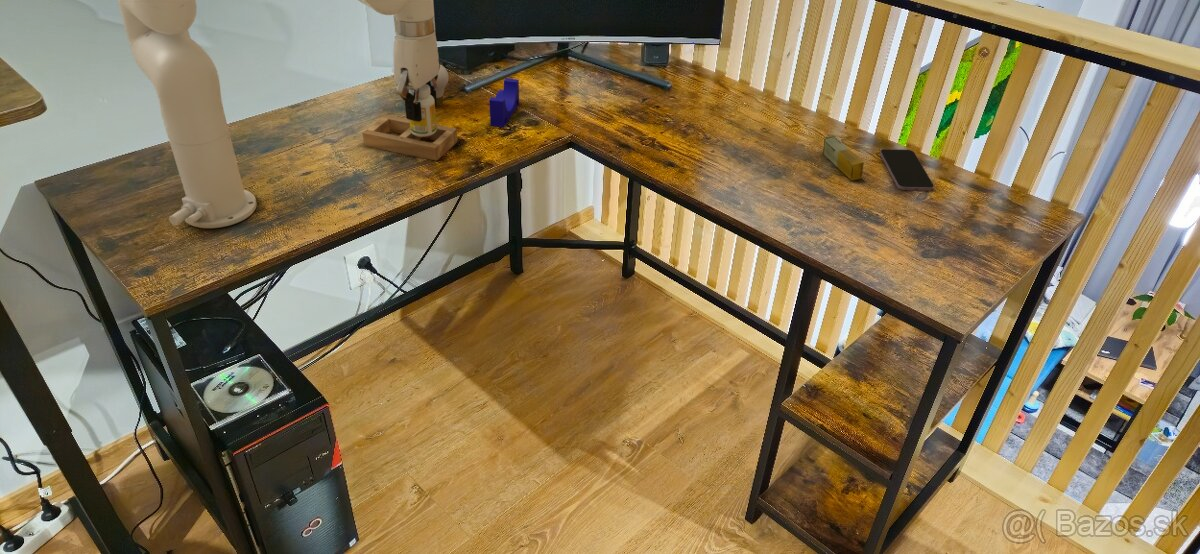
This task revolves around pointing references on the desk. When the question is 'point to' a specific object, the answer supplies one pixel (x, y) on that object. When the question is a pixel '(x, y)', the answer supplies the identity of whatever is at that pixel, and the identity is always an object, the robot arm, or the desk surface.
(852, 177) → the medication box
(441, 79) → the light bulb
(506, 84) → the cable clip
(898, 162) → the smartphone
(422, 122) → the supplement bottle
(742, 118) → the desk surface
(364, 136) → the caddy
